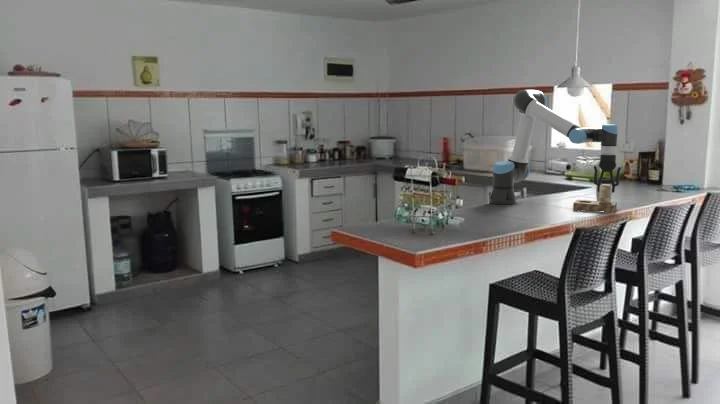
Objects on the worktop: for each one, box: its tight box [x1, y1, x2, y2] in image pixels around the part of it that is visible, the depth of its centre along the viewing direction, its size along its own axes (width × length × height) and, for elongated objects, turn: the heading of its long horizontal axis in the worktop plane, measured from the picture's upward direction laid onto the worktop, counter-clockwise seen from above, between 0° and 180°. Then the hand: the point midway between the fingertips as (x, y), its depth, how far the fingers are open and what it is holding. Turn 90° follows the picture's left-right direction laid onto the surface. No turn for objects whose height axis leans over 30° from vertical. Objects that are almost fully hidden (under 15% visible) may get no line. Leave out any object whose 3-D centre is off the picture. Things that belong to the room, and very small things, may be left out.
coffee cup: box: [595, 177, 612, 202], centre depth 325 cm, size 9×9×15 cm
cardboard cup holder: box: [572, 199, 618, 213], centre depth 310 cm, size 20×12×4 cm, turn 61°
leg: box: [600, 184, 611, 204], centre depth 307 cm, size 4×4×14 cm
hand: (605, 198), depth 307 cm, fingers open, 4 cm apart
